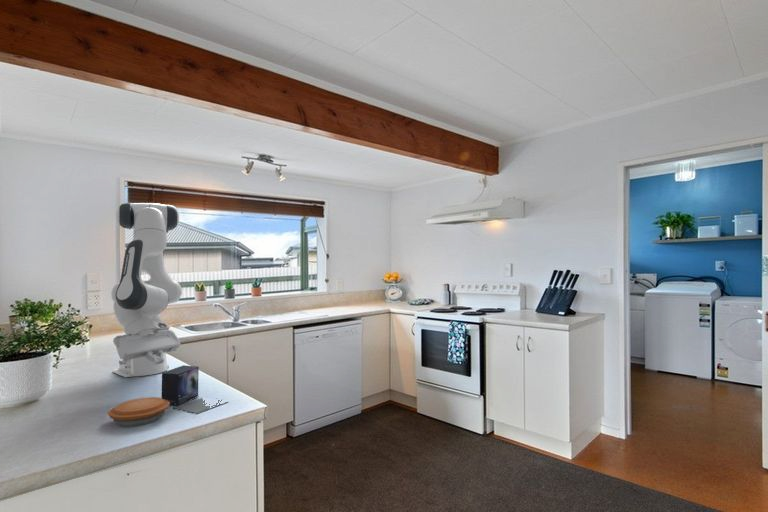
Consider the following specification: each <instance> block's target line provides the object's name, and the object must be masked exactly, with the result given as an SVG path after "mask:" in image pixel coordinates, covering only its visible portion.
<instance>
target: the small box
mask: <svg viewBox="0 0 768 512" xmlns="http://www.w3.org/2000/svg"><path fill="white" fill-rule="evenodd" d="M199 371H200V370H199V366H197V365H194V366H193V365H185V364H184V365H180V366H178V367H175V368H172V369H168V370H166V371H164V372H161V397H160V398H162V399H165V400H168V401H169V402H170V405H169V406H168V407H176V406H179V405H182V404H185V402H186V403H188V402H190V401H192V400H194V399H196V398H198V397H199V374H200V373H199ZM197 396H198V397H197ZM195 397H196V398H195ZM193 398H194V399H193ZM191 399H192V400H191ZM189 400H190V401H189ZM187 401H188V402H187Z"/></svg>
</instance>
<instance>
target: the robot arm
mask: <svg viewBox="0 0 768 512" xmlns="http://www.w3.org/2000/svg"><path fill="white" fill-rule="evenodd" d="M116 221H117V222H118V224H119V226H120V227H122V228H123V229H128V230H131V229H132V230H133V236H132V237H133V238H132V240H131V241H130V242H129V243H128V245H127V246H126V249H125V252H124V257H123V263H122V268H121V275H120V279H119V282H117V283H115V285H114V286H113V287H112V289H111V299H112V301H113V312H114V315H115V317H116V318H117V321H118V323H119V325H120V326H122V327H123V331H124V333H125V334H122V335H117V336H115V337H114V338H113V340H112V342H113V344H114V346H115V347H116V350H117V351H116V352H117V354H118V356H119V358H120V359H119V361H118V363H119V367H116V368H114V369H112V373H113V374H116V375H119V376H121V377H124V378H130V377H143V376H151V375H157V374H162V373H163V372H166V371H168V368H170V364H168V361H167V353H170V352H176V351H177V350H178V349H179V347H180V346H181V340H180V338H179V337H178V336H177V334H176V333H175V332H174V331H173V330H171V329H170V325H169V324H168V323H165V322H163V319H162V317H161V316H160V315H159V314H161V313H162V312H164V311H165V309H166V308H167V306H168V305H171V304H174V303H177V302H178V301H180V298H181V297H182V293H183V291H182V286H181V284H180V283H179V282H178V281H177V280H175V279H174V278H173V277H171V275H169V273H168V272H167V270H166V267H165V263H164V253H163V252H164V251H165V250H166V248H167V243H168V242H167V240H168V239H167V237H168V236H167V233H169V231H172V230H174V229H176V228H177V227H178V224H179V222H180V214H179V211H178V209H177V207H176V206H175V205H171V204H161V203H154V202H149V203H148V202H146V203H145V202H139V203H138V202H137V203H136V202H134V203H133V202H132V203H131V202H124V203H122V204H120V205H119V207H118V209H117V211H116ZM142 273H146V274H148V275H149V277H150V278H149V279H142Z"/></svg>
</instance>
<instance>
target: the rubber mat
mask: <svg viewBox="0 0 768 512" xmlns="http://www.w3.org/2000/svg"><path fill="white" fill-rule="evenodd" d="M202 398H203V397H200V398H198V399H193V400H190V401H188V402H186V403H183V404H181V405H179V406H172V409H174V410H177V409H178V410H177V411H181V410H182V412H185V411H187V412H186V413H190V412H191V414H194V413H196V414H195V415H198V414H200V413H199V412H201V413H203V412H202V411H204V410H206V411H208V410H207V409H209V408H210V406H205V405H206V404H207V403H206V404H205V400H204V401H203V399H202ZM222 400H223V399H221V401H222ZM219 401H220V400H218V403H219ZM221 401H220V402H221ZM203 403H204V404H203ZM218 403H216V405H213V406H217V404H218ZM209 405H210V404H209ZM219 405H220V403H219ZM213 406H211V407H213ZM220 406H221V405H220ZM217 407H218V406H217ZM209 410H210V409H209ZM204 412H205V411H204ZM197 413H198V414H197Z"/></svg>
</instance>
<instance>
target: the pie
mask: <svg viewBox="0 0 768 512" xmlns="http://www.w3.org/2000/svg"><path fill="white" fill-rule="evenodd" d="M169 405H170V402H169V401H168V400H165V399H162V398H161V397H142V398H134V399H130V400H126V401H124V402H121V403H119V404H117V405H115V407H112V408H110V409H109V410H108V411H107V415H108V417H110V419H112V420H113V422H114V423H115V425H117V426H118V427H120V428H133V427H139V426H145V425H149V424H152V423H155V422H157V421H158V420H160V419H161V418H162V417H163V415H164V413H165V412H166V410H168V408H169V407H170V406H169Z"/></svg>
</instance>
